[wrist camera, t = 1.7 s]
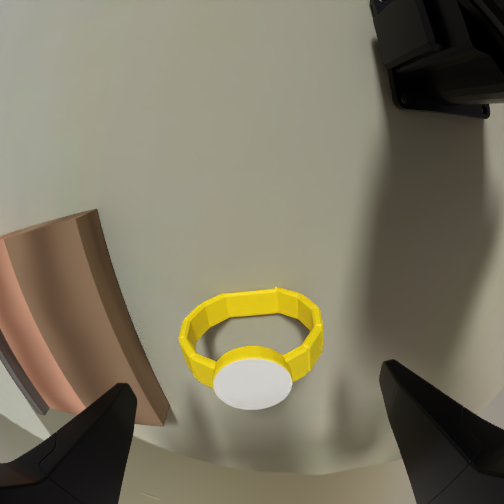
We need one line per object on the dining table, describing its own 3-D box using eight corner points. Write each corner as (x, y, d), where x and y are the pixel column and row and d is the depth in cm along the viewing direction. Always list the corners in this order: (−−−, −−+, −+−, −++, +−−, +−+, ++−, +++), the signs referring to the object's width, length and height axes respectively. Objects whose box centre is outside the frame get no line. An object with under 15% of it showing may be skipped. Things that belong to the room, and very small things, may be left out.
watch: (305, 268, 14) (346, 341, 9) (307, 314, 15) (340, 396, 10) (185, 284, 14) (160, 366, 8) (196, 329, 15) (183, 416, 9)
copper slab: (96, 208, 13) (63, 225, 10) (169, 405, 18) (160, 437, 15) (-19, 242, 14) (-46, 257, 11) (51, 391, 18) (37, 413, 16)
